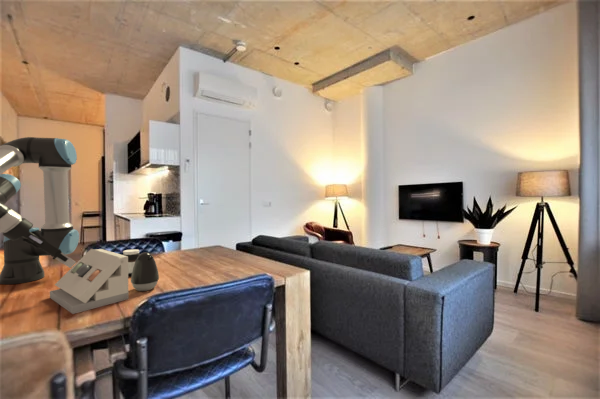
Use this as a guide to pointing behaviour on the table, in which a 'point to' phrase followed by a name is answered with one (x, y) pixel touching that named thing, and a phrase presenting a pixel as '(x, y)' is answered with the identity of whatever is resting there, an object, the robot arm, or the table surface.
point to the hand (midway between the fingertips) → (72, 264)
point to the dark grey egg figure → (144, 273)
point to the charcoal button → (83, 270)
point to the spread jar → (131, 259)
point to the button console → (94, 282)
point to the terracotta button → (94, 275)
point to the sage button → (76, 267)
